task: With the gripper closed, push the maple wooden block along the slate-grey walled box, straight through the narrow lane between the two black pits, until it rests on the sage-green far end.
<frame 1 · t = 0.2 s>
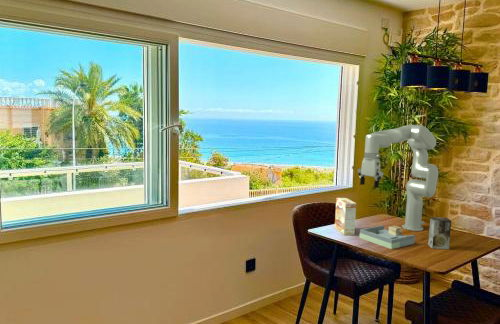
hand: (369, 185, 225), 31 cm above the table, tool pointing down, fingers open, 9 cm apart
maple block: (394, 233, 228), point 3 cm above the table, touching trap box
coffeecake box: (344, 232, 240), on the table
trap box: (386, 240, 225), on the table
coffee box: (438, 247, 217), on the table
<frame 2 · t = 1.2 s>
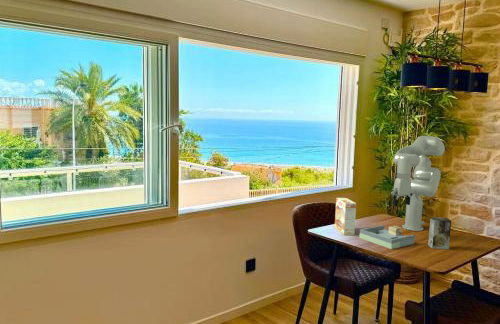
hand: (401, 205, 230), 19 cm above the table, tool pointing down, fingers open, 9 cm apart
nothing on the table moved.
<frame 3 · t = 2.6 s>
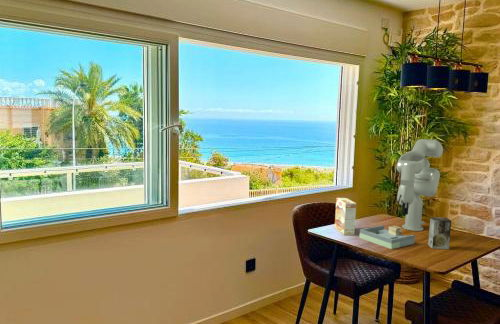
hand: (404, 214, 231), 14 cm above the table, tool pointing down, fingers closed
nothing on the table moved.
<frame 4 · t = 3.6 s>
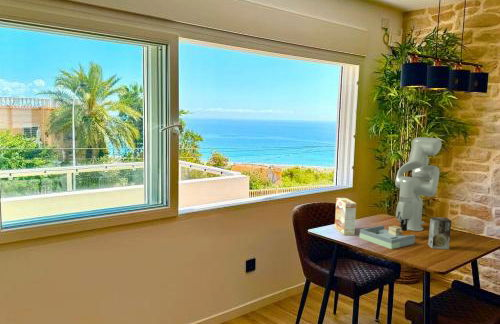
hand: (403, 230, 232), 4 cm above the table, tool pointing down, fingers closed
nothing on the table moved.
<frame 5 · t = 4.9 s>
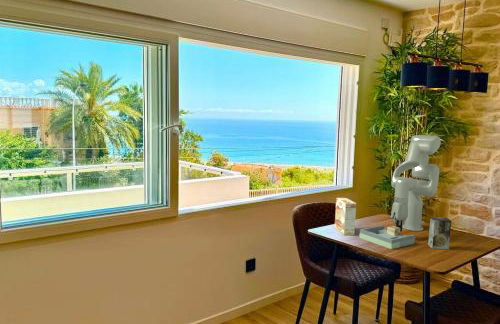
hand: (398, 231, 230), 4 cm above the table, tool pointing down, fingers closed
maple block: (393, 234, 228), point 3 cm above the table, touching gripper
everything else where it was.
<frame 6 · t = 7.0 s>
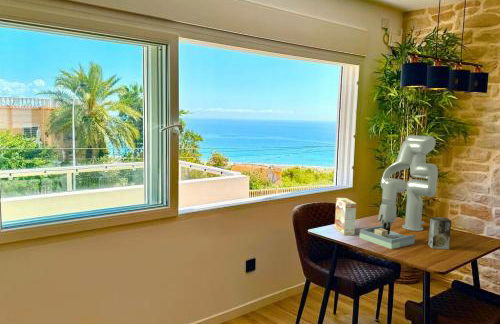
hand: (386, 233, 224), 4 cm above the table, tool pointing down, fingers closed
maple block: (380, 236, 222), point 3 cm above the table, touching gripper, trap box
everything else where it was.
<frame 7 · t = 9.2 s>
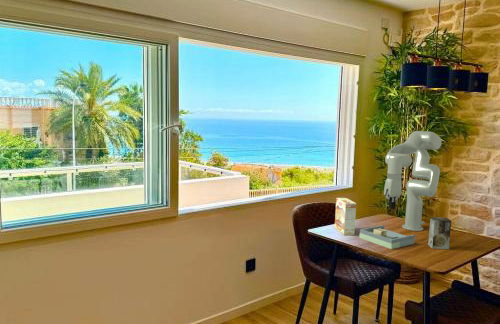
hand: (391, 208, 224), 19 cm above the table, tool pointing down, fingers closed
maple block: (379, 236, 221), point 3 cm above the table, touching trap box
everything else where it was.
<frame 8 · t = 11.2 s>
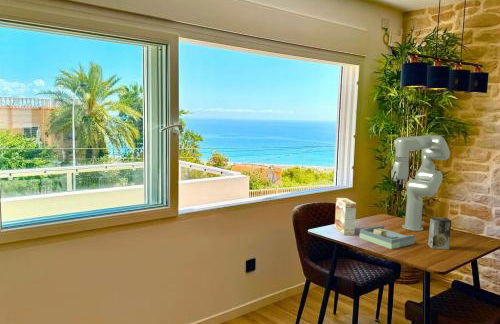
hand: (399, 190, 234), 27 cm above the table, tool pointing down, fingers closed
nothing on the table moved.
at the end: maple block 0.2 cm from the target spot on the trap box, point 3.0 cm above the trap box's base; maple block tilted 0° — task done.
